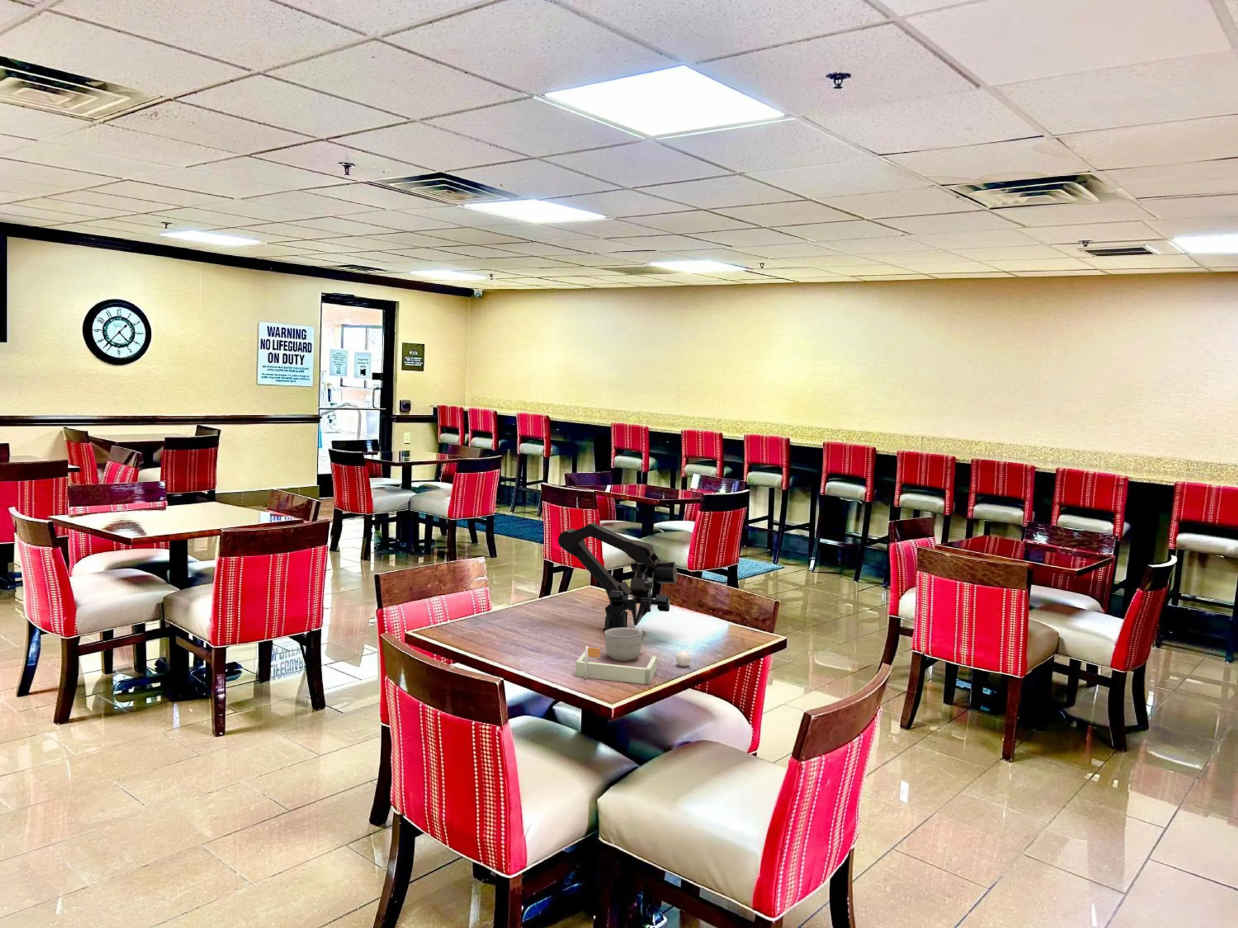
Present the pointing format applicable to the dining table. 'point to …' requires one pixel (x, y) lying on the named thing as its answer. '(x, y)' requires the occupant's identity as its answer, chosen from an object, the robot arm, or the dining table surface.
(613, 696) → the dining table surface
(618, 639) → the teacup
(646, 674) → the corral
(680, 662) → the golf ball
